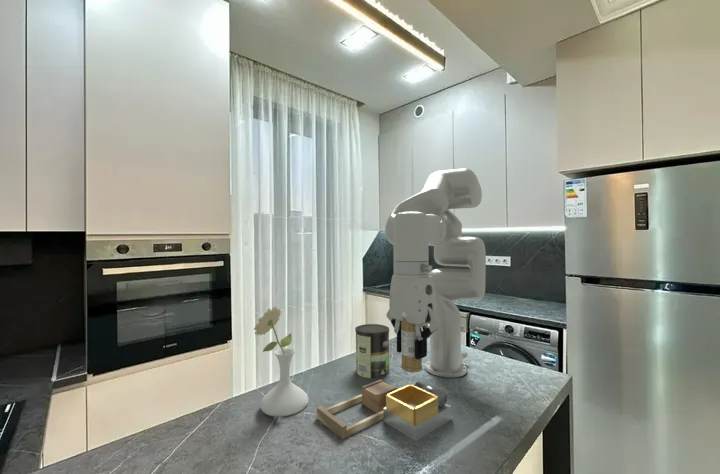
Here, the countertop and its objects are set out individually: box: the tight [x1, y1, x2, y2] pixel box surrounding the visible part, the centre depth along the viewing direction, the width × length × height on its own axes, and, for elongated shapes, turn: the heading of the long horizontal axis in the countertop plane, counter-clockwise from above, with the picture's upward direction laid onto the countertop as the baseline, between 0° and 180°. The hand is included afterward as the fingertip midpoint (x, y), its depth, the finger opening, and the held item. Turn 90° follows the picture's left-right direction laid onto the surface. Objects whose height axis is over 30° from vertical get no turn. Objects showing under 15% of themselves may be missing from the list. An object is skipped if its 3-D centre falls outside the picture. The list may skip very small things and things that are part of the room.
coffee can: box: [354, 323, 390, 379], centre depth 95 cm, size 10×10×14 cm
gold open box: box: [383, 380, 452, 442], centre depth 69 cm, size 12×9×7 cm
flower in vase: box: [253, 306, 310, 418], centre depth 75 cm, size 13×11×25 cm
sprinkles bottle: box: [400, 312, 423, 373], centre depth 68 cm, size 5×5×14 cm
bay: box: [316, 393, 384, 440], centre depth 72 cm, size 18×10×4 cm, turn 130°
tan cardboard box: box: [361, 378, 398, 414], centre depth 75 cm, size 6×6×4 cm
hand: (411, 353), depth 68 cm, fingers closed on sprinkles bottle, 4 cm apart
